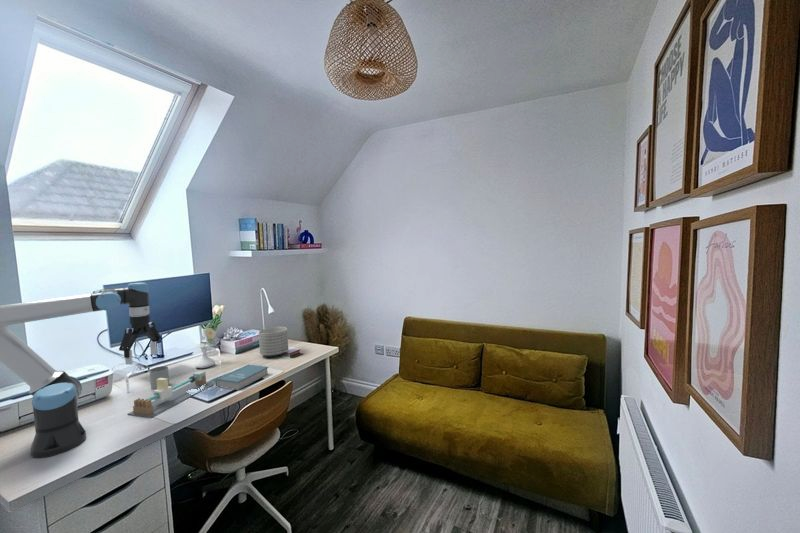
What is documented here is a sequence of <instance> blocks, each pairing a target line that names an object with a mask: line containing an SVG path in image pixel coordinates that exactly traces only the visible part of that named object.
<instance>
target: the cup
mask: <svg viewBox="0 0 800 533" xmlns="http://www.w3.org/2000/svg"><path fill="white" fill-rule="evenodd" d="M169 376H170V375H169V366H167V365H164V366H163V365H161V366H156V367H154V368H151V369H150V370H149V379H150V389H151V390H157V380H156V379H159V378H168V386H170V377H169Z"/></svg>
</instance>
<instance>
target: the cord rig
mask: <svg viewBox="0 0 800 533" xmlns="http://www.w3.org/2000/svg"><path fill="white" fill-rule="evenodd" d="M206 383H207V384H206ZM204 384H206V385H205V387H204V389H205V388H207V387H208V386H210V385H212V386H214V385H215V383H213V382H212V383H211V382H207V377H206V370H205V371H203V370H199V371H195V372H194V373H192V376H190V377H189V378H188V379H187V380H185V381H183V382H181V383H179V384H176V385H174V386H172V392H173V395H172V396H170V397H168V398H166V399H164V400H162V401H157V400H154V399H155V398H157V397H159V394H157V395H155V396H154V395H153V396H151V397H149V398H146V399H144V398H137V399H134V400H133V406H132V410H133V411H130V412H128V413H127V416H133V417H134V416H135V417H142V418H148V419H152V418H154V417H156V416H157V415H159V414H161V413H163V412H165V411H167V410H169V409H171V408H172V407H174V406H177V405H178V404H180V403H182V402H183V401H184V402H185V401H186V400H187V399H189V398H192V397H193V396H192V395H191V394H189V393H187V392H186V391H188V390H191V389H197V390H198V388H199V389H200V387H201V386H202V385H204ZM213 384H214V385H213ZM210 387H211V386H210ZM208 388H209V387H208ZM208 388H207V389H208ZM202 390H203V389H202ZM205 390H206V389H205ZM200 391H201V389H200ZM203 391H204V390H203ZM201 392H202V391H201Z"/></svg>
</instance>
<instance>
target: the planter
mask: <svg viewBox="0 0 800 533" xmlns="http://www.w3.org/2000/svg"><path fill="white" fill-rule="evenodd" d="M288 332H289V331H288V328H287V327H286V326H273V327H266V328H263V329H260V330H258V344H259V354H260V355H262V356H265V357H269V358H274V357H279V356H281V355H282V354H284V353H286V352H288V351H289V339H288V338H289V336H288V334H289V333H288Z"/></svg>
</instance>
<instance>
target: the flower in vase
mask: <svg viewBox="0 0 800 533" xmlns="http://www.w3.org/2000/svg"><path fill="white" fill-rule="evenodd" d="M204 335H205V337H206V340H205V341H200V344H201V345H200V346H199V348H200V349H201V352H202V357H201V358H200V359H199V360H198V361H196V363H195V368H197V369H205V368H209V367H213V366H214V365H215V363H216V360H214V359H212V358H211V357H209V356H208V354H207V353H208V352H207V351H208V347H209V344H207V342H208V343H212V342H213V339H214V338H215V337H216V336H217V335H216V331H215V330H214V329H213V328H212V327H209V328H208V327H207V328H206V329H205V330H204Z"/></svg>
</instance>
